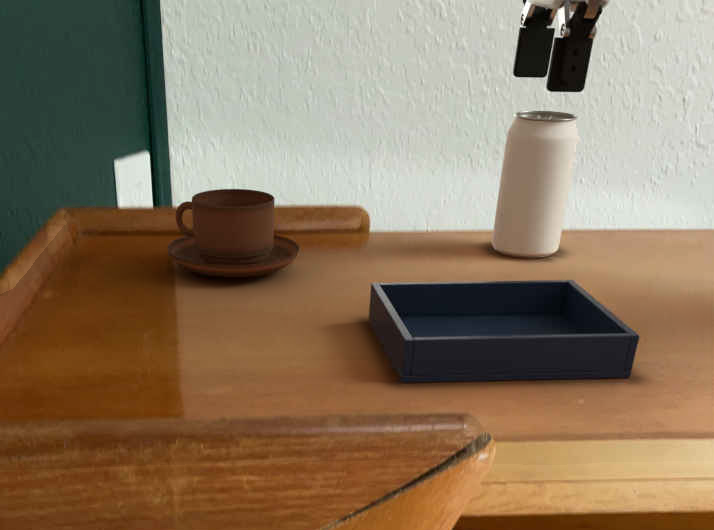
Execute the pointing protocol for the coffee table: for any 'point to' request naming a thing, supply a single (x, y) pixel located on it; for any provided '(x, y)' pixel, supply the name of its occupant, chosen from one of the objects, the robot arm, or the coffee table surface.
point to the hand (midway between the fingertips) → (546, 83)
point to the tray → (499, 331)
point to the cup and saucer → (231, 235)
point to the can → (535, 183)
